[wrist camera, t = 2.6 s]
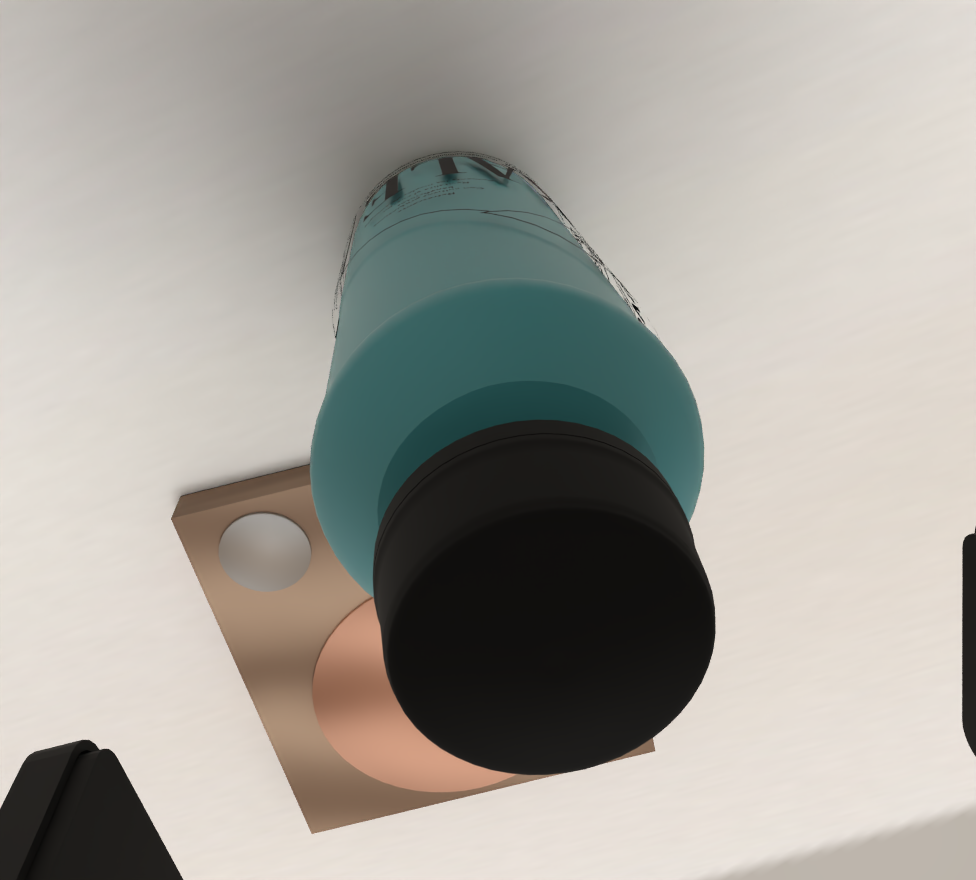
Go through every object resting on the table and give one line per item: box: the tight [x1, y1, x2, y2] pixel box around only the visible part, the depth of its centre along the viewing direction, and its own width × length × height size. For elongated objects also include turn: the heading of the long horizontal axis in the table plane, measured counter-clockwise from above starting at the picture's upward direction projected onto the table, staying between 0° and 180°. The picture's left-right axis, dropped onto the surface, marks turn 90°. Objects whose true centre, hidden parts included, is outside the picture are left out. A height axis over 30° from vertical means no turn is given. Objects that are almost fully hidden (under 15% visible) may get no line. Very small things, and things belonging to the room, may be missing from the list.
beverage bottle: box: [310, 151, 715, 775], centre depth 19 cm, size 6×7×20 cm
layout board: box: [171, 465, 655, 834], centre depth 33 cm, size 15×14×2 cm
